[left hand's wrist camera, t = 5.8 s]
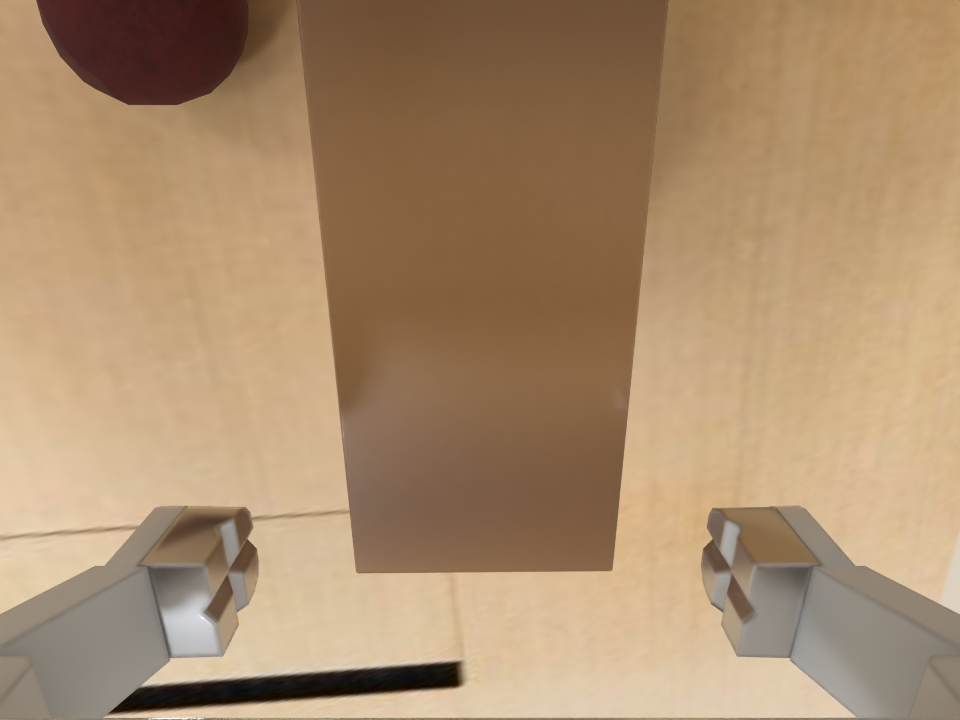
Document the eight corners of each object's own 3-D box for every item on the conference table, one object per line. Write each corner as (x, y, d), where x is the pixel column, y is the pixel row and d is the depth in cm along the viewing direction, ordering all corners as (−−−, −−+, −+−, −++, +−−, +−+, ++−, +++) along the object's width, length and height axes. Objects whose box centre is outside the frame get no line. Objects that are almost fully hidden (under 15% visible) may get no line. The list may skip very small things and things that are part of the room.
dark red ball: (304, 46, 27) (249, 23, 21) (175, 141, 29) (85, 147, 22) (195, -123, 25) (94, -212, 18) (60, -11, 26) (-78, -55, 20)
